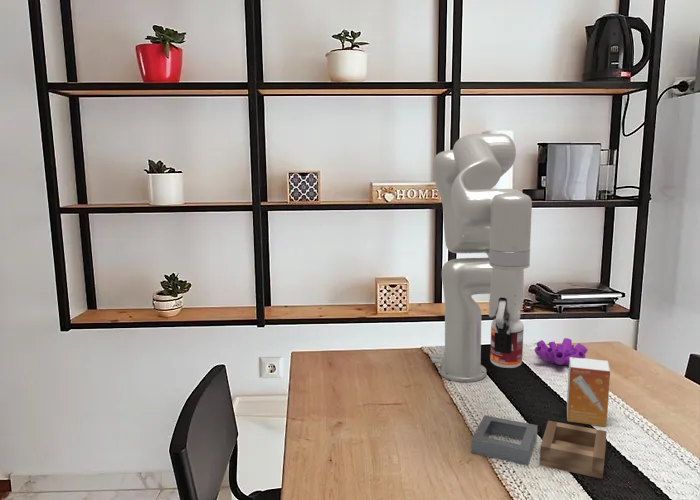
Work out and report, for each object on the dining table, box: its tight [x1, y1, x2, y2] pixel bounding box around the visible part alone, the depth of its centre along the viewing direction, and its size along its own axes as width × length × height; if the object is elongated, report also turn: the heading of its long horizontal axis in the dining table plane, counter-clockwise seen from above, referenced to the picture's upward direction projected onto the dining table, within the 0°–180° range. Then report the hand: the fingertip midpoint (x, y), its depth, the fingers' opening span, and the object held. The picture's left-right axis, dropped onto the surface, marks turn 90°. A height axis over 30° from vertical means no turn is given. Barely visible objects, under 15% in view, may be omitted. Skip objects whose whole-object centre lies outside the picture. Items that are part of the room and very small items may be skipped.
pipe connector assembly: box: [534, 337, 589, 366], centre depth 155 cm, size 11×15×10 cm
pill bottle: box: [489, 309, 525, 369], centre depth 110 cm, size 6×6×11 cm
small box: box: [566, 357, 611, 428], centre depth 123 cm, size 8×6×13 cm
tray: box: [539, 420, 608, 480], centre depth 109 cm, size 11×11×4 cm
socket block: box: [470, 414, 538, 466], centre depth 114 cm, size 11×11×3 cm
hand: (506, 345), depth 110 cm, fingers closed on pill bottle, 6 cm apart
